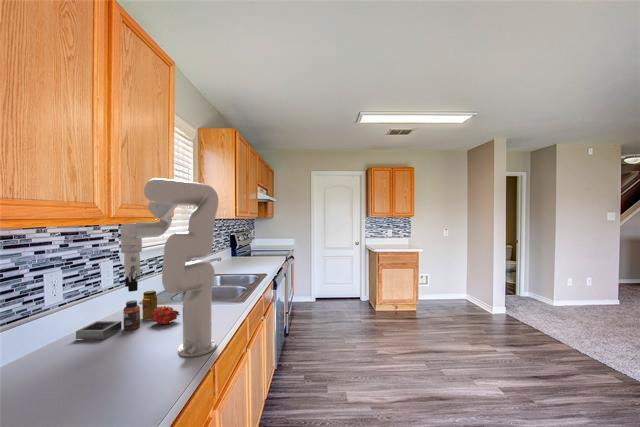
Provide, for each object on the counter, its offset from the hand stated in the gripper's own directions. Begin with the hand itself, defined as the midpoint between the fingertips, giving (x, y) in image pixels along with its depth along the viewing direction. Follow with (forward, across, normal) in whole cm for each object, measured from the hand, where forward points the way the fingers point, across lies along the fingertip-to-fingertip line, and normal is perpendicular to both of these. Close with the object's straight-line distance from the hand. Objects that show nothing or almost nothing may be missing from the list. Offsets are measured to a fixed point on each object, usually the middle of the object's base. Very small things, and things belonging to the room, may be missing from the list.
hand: (131, 288), depth 125 cm
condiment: (+17, +10, -10) cm, 22 cm away
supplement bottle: (+17, -1, 0) cm, 17 cm away
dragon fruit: (+17, -4, -12) cm, 21 cm away
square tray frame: (+17, -1, +11) cm, 20 cm away
